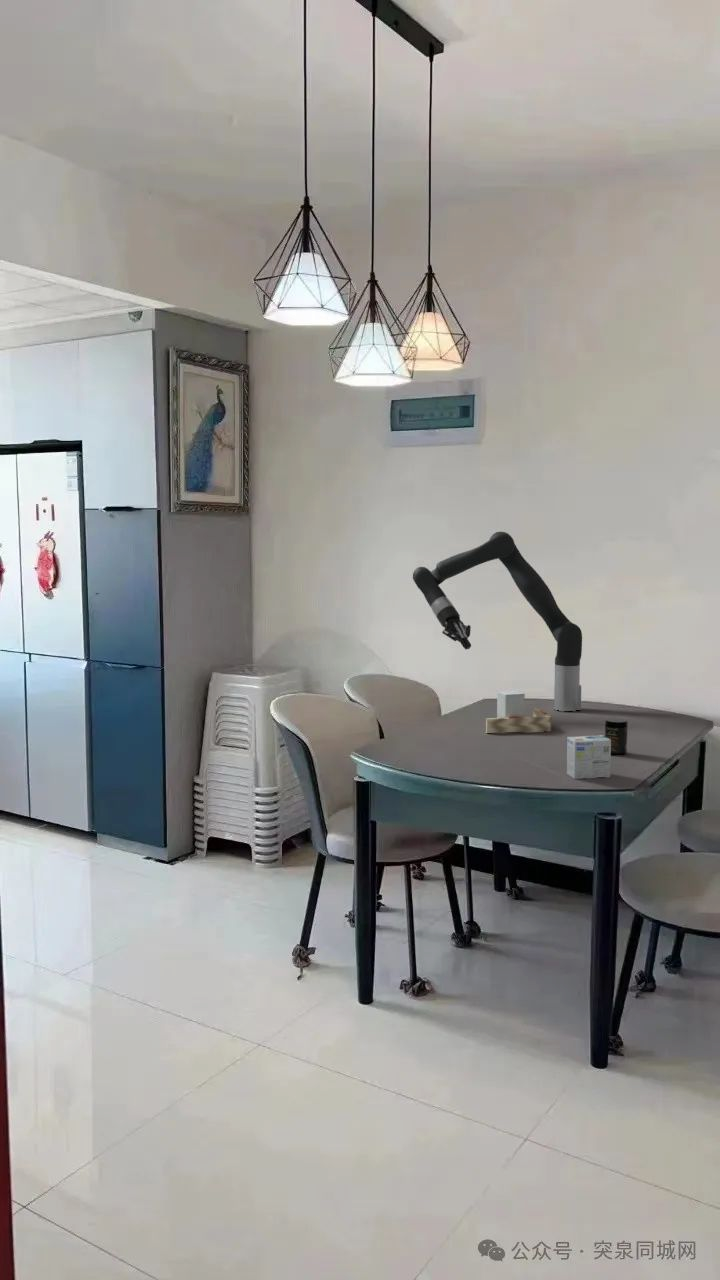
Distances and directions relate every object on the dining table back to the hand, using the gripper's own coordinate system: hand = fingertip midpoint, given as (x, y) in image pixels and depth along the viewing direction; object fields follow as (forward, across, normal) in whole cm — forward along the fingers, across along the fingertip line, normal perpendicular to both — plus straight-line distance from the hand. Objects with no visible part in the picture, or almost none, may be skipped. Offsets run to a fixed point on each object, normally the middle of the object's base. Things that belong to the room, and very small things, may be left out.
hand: (468, 647), depth 351 cm
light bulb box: (+75, -32, -38) cm, 89 cm away
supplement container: (+66, -4, -29) cm, 73 cm away
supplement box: (+34, -1, +3) cm, 34 cm away
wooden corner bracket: (+33, +1, +4) cm, 33 cm away
